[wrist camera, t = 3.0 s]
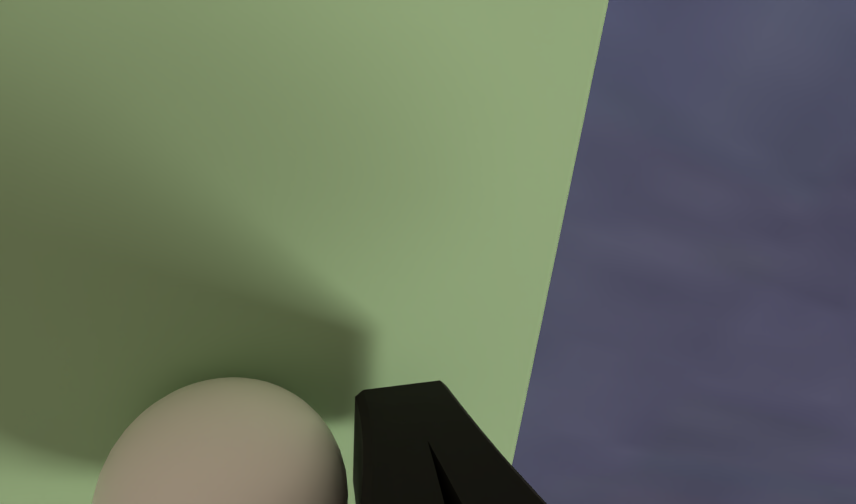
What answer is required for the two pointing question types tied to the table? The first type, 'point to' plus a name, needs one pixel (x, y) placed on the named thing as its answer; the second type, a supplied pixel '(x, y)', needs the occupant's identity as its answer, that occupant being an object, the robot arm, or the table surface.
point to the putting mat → (274, 208)
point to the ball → (225, 450)
